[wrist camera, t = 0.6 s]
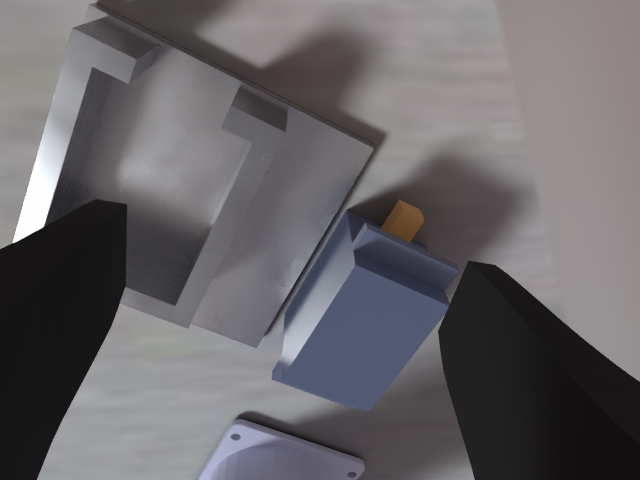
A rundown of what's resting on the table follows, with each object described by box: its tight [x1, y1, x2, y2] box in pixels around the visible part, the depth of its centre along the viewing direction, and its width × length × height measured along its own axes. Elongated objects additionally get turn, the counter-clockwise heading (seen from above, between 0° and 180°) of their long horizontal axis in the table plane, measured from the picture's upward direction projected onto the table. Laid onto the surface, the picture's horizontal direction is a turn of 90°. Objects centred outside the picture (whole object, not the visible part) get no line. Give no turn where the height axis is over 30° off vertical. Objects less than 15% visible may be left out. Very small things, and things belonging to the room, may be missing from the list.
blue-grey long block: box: [272, 199, 459, 412], centre depth 22 cm, size 9×4×4 cm, turn 153°
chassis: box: [13, 3, 374, 348], centre depth 20 cm, size 11×11×4 cm
